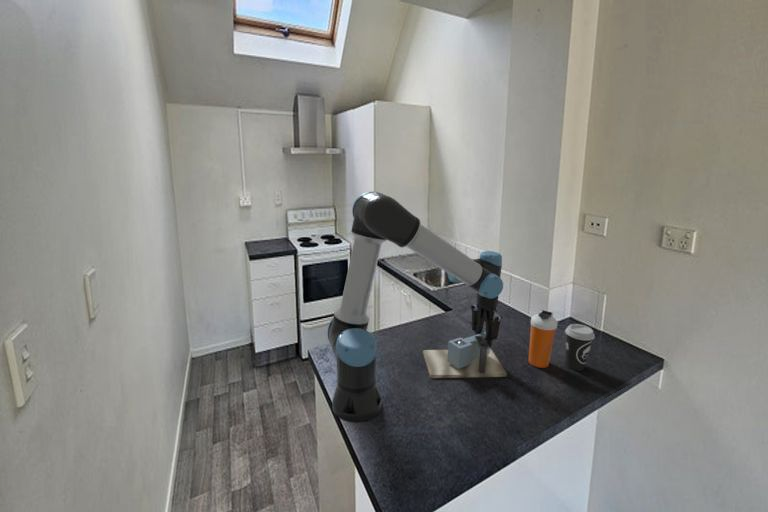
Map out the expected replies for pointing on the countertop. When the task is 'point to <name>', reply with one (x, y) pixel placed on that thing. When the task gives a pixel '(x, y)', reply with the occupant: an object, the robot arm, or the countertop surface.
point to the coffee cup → (577, 345)
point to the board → (444, 369)
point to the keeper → (482, 352)
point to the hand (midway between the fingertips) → (482, 351)
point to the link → (463, 351)
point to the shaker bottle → (541, 338)
